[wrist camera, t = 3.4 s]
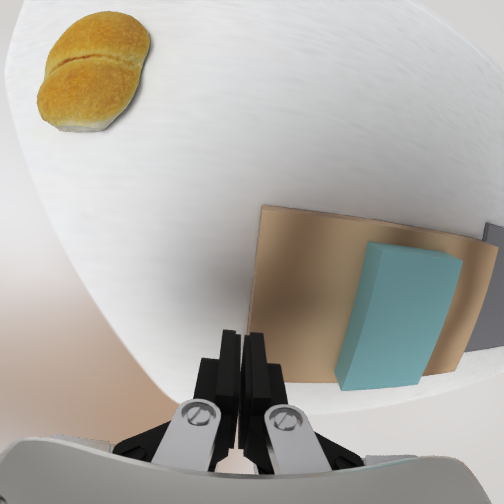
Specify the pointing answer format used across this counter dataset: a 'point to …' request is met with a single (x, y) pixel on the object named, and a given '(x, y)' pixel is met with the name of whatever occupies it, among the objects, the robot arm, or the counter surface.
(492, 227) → the charcoal mat
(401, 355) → the teal tile
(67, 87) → the bread roll
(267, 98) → the counter surface
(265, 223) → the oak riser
